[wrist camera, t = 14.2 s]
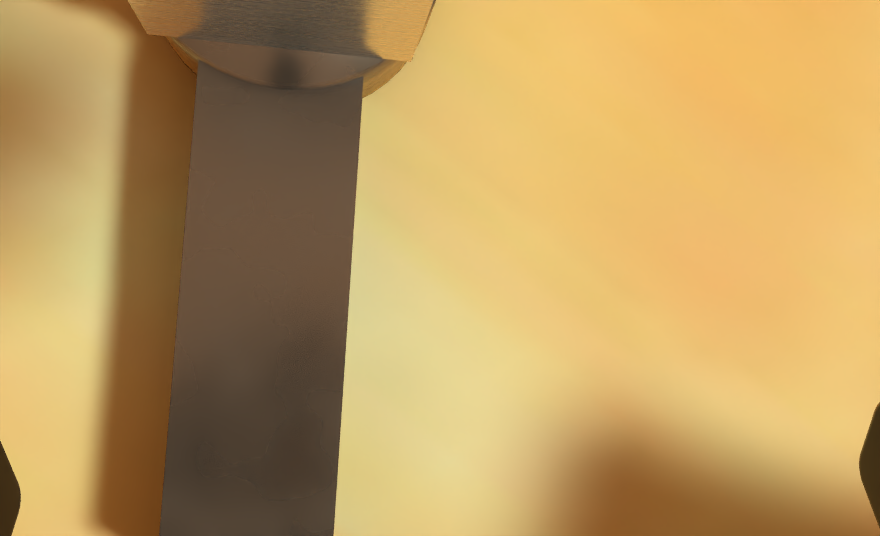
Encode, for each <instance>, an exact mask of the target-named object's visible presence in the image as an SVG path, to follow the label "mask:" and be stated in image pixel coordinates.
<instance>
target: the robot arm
mask: <svg viewBox="0 0 880 536" xmlns="http://www.w3.org/2000/svg"><path fill="white" fill-rule="evenodd" d="M859 469H860V475H861V479H862V483H863V485H864V488H865V491H866V493H867V496H868V499H869V501H870V504H871V507H872V509H873V512H874V515H875V517H876V520H877V523H878V525H879V528H880V403H879V404H878V405H877V407H876V409H875V411H874V414H873V417H872V420H871V424H870V427H869V430H868V433H867V436H866V439H865V442H864V445H863V448H862V451H861V454H860V460H859ZM20 501H21V494H20V488H19V484H18V481H17V479H16V477H15V474H14V472H13V470H12V467H11V465H10V463H9V460H8V458H7V455H6V453H5V451H4V448H3V446H2V444H1V441H0V536H11V535H12V532H13V529H14V525H15V522H16V519H17V516H18V512H19V508H20Z"/></svg>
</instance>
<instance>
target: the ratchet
mask: <svg viewBox="0 0 880 536" xmlns="http://www.w3.org/2000/svg"><path fill="white" fill-rule="evenodd" d="M435 1H436V0H434V1H433V3H432V6H431V9H430V11H429V14H428V17H427V20H426V22H425V25H424V28H423V30H422V33H421V36H420V39H419V41H418V44H419V42H420V40H421V37H422V35H423V33H424V30H425V28H426V25H427V23H428V20H429V17H430V15H431V12H432V9H433V7H434V4H435ZM166 38H167V39H168V41H169V43H170V45H171V46H172V48H173V49H174V50H175V52H176V53H177V54H178V55H179V57H180V58H181V59H182V61H183V62H184V63H185V64H186V65H187V66H188V67H189V68H190V69H191V70H192V71H193V72H194V73H195V74H196V75H197V84H196V96H195V108H194V120H193V132H192V145H191V157H190V169H189V181H188V193H187V205H186V217H185V230H184V242H183V254H182V266H181V278H180V290H179V302H178V315H177V327H176V339H175V351H174V363H173V375H172V387H171V400H170V412H169V424H168V436H167V448H166V460H165V472H164V485H163V497H162V509H161V521H160V533H159V536H333V534H334V518H335V503H336V488H337V473H338V458H339V442H340V427H341V412H342V397H343V382H344V366H345V351H346V336H347V321H348V306H349V290H350V275H351V260H352V245H353V229H354V214H355V199H356V184H357V169H358V153H359V138H360V123H361V108H362V98H364V97H366V96H368V95H370V94H371V93H373V92H375V91H376V90H377V89H379V88H380V87H381V86H383V85H384V84H386V83H387V82H388V81H389V80H390V79H391V78H392V77H393V76H394V75H395V74H397V73H398V72H399V71H400V70H401V68H402V67H403V66H404V65H405V63H406V62H407V61H399V60H389V59H380V58H370V57H360V56H351V55H341V54H332V53H322V52H313V51H303V50H293V49H284V48H274V47H265V46H255V45H246V44H236V43H226V42H217V41H207V40H198V39H188V38H179V37H169V36H166ZM418 44H417V45H418Z"/></svg>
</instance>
